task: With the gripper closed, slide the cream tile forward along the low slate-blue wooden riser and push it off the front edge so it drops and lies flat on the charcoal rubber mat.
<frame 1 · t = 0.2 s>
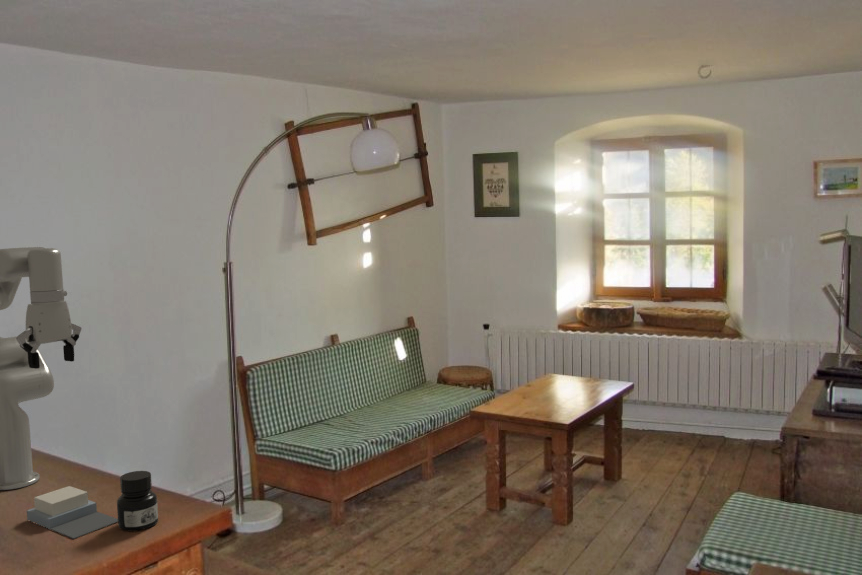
hand: (52, 364, 195), 36 cm above the table, tool pointing down, fingers open, 9 cm apart
riser: (62, 516, 188), on the table
ink bottle: (138, 525, 183), on the table
mat: (86, 525, 183), on the table
tile: (61, 500, 188), point 4 cm above the table, touching riser
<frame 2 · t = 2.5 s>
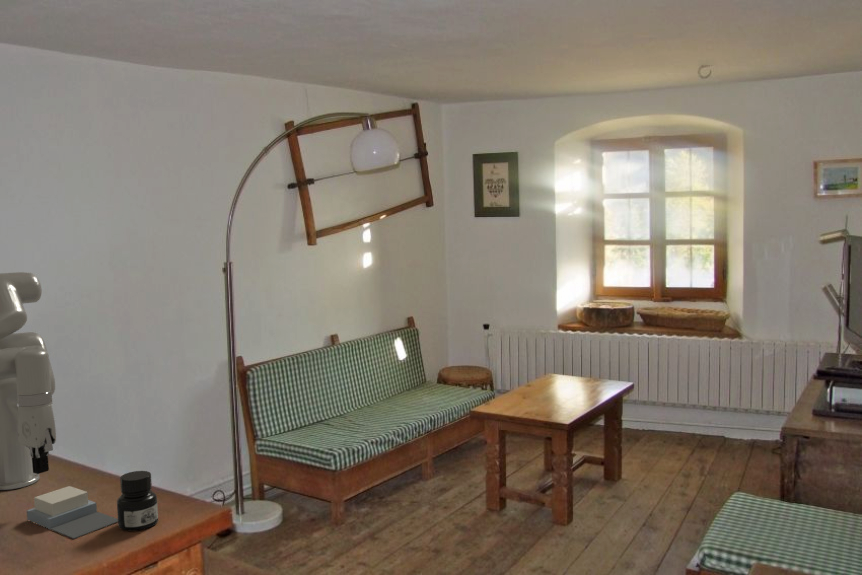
hand: (41, 471, 192), 10 cm above the table, tool pointing down, fingers closed
nothing on the table moved.
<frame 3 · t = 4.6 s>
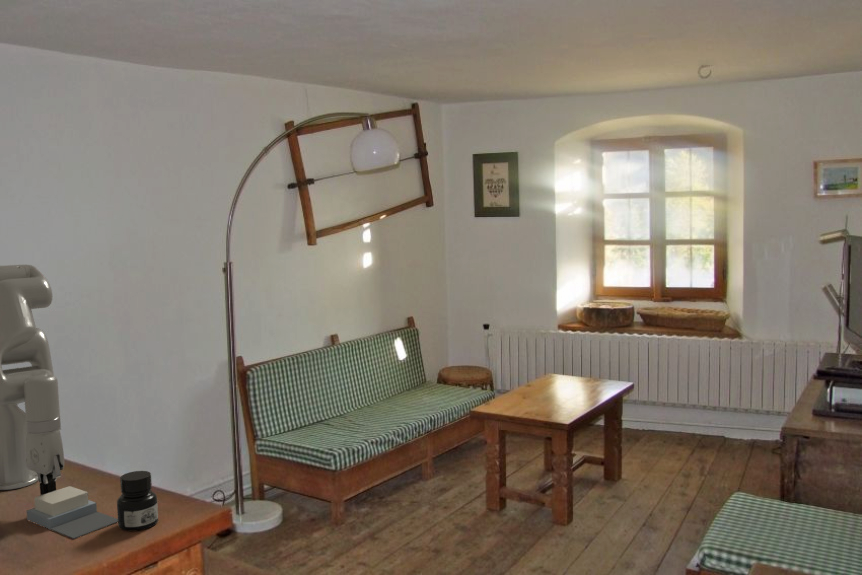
hand: (48, 497, 191), 4 cm above the table, tool pointing down, fingers closed
tile: (61, 500, 188), point 4 cm above the table, touching gripper, riser
everything else where it was.
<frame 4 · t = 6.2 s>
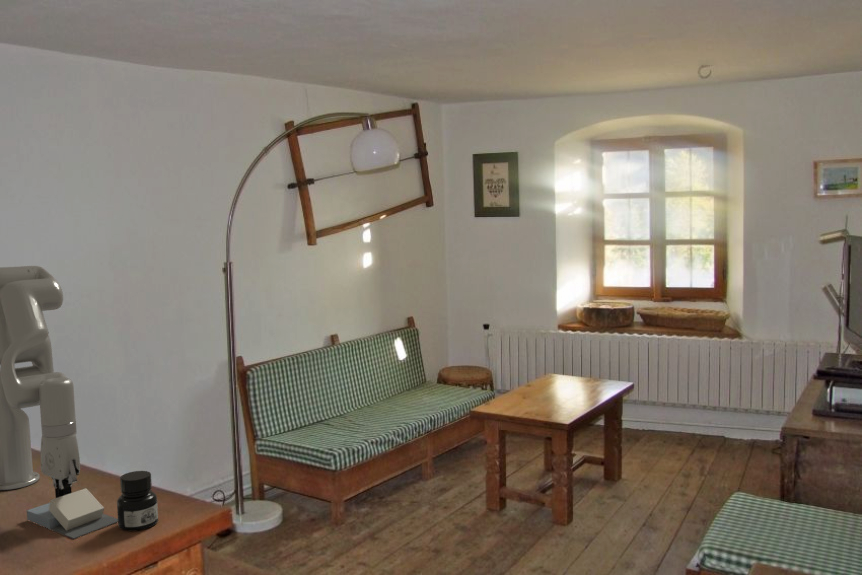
hand: (64, 502, 187), 4 cm above the table, tool pointing down, fingers closed
tile: (76, 508, 184), point 3 cm above the table, tilted 26°, touching mat, riser
everything else where it was.
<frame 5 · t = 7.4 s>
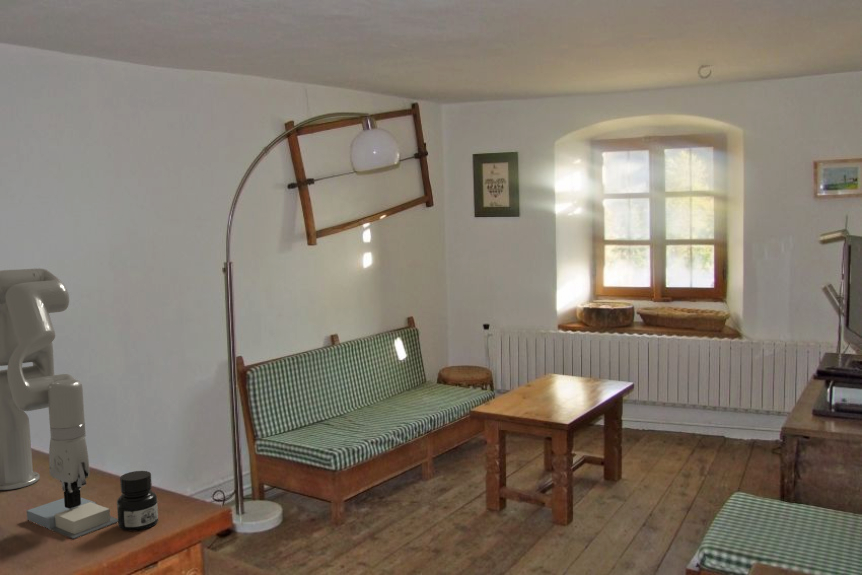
hand: (72, 506, 185), 4 cm above the table, tool pointing down, fingers closed
tile: (82, 517, 183), point 2 cm above the table, touching mat
everything else where it was.
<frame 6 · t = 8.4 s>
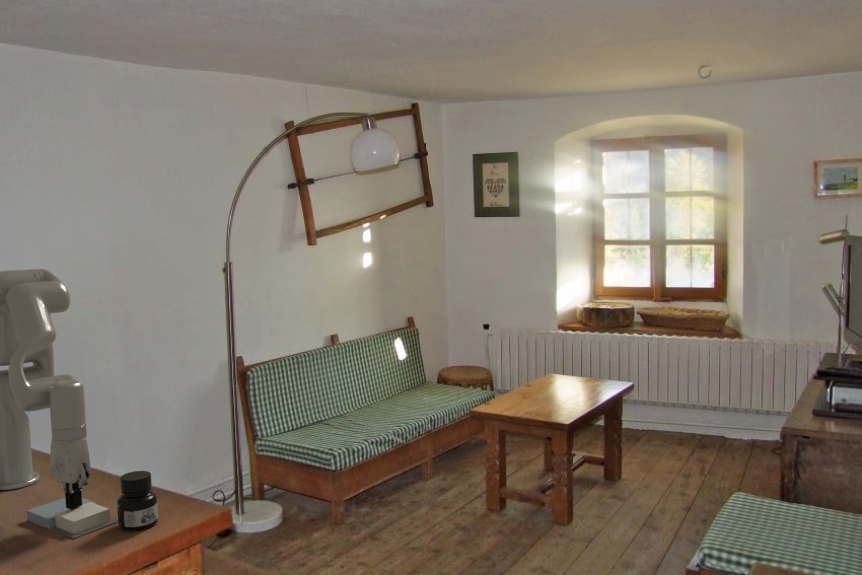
hand: (74, 506, 185), 4 cm above the table, tool pointing down, fingers closed
nothing on the table moved.
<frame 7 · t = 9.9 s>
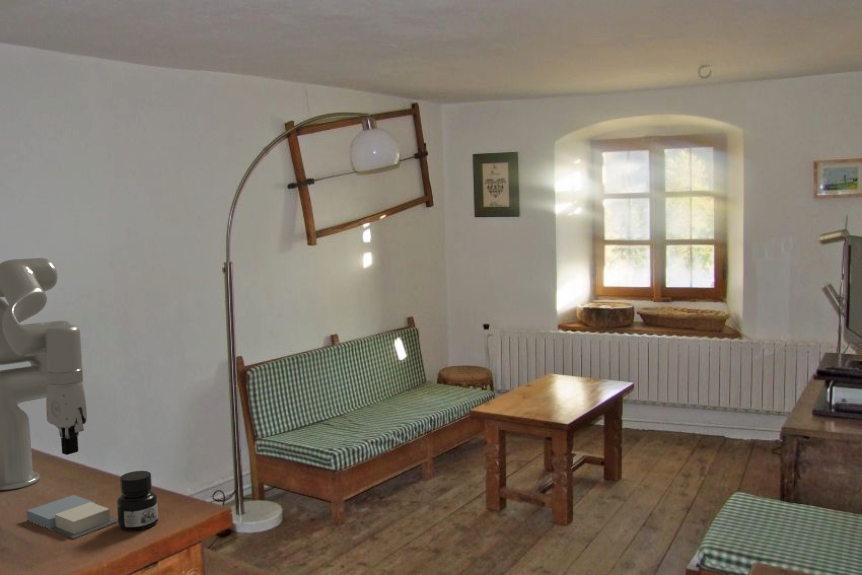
hand: (70, 452, 184), 17 cm above the table, tool pointing down, fingers closed
nothing on the table moved.
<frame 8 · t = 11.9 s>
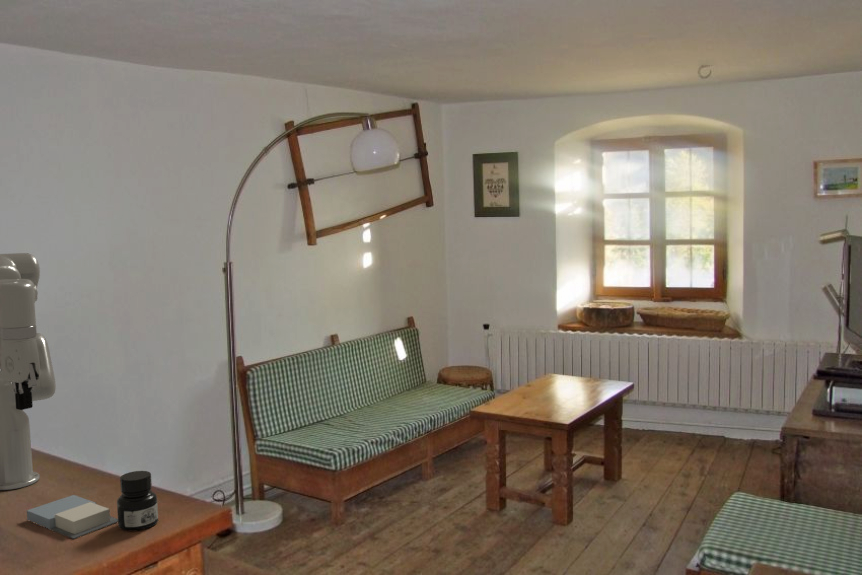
hand: (24, 408, 186), 27 cm above the table, tool pointing down, fingers closed
nothing on the table moved.
at the end: tile inside the target area (1.1 cm from its centre), point 1.8 cm above the table; tile touching mat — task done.
